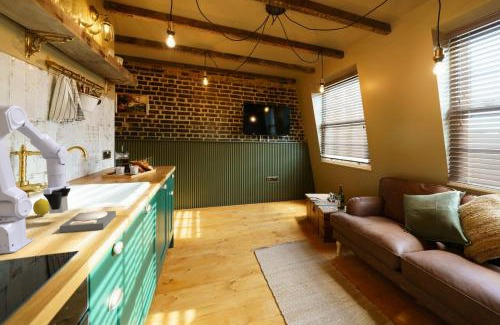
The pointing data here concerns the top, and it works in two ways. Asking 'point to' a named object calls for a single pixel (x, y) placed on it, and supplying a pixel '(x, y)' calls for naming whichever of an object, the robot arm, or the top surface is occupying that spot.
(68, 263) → the top surface
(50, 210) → the block
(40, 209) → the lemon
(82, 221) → the scale
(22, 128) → the robot arm
